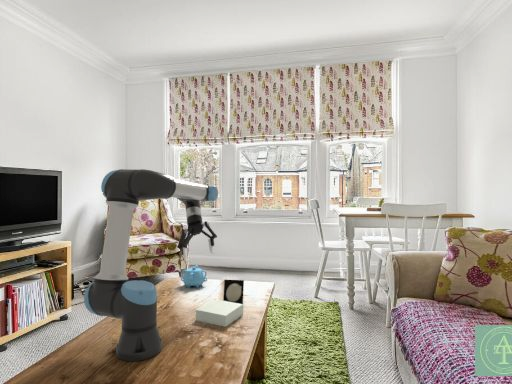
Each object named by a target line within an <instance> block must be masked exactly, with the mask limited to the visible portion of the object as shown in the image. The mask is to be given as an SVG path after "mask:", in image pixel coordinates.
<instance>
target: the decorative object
mask: <svg viewBox="0 0 512 384" xmlns="http://www.w3.org/2000/svg"><path fill="white" fill-rule="evenodd" d="M244 281H245V280H244V279H224V281H223V299H222V301H228V302H233V303H239V304H243V305H244V288H245V287H244V286H245V285H244V283H245V282H244Z"/></svg>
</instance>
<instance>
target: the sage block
mask: <svg viewBox="0 0 512 384" xmlns="http://www.w3.org/2000/svg"><path fill="white" fill-rule="evenodd" d="M243 315H244V303H243V304H239V303H233V302H228V301H223V299H222V300H221V299H217V298H216V299H213V300H211V301H209V302H207V303H206V304H205V303H204V305H202V306H200V307H198V308H196V309H195V321H196V322H197V321H198V322H202V323H206V324H212V325H214V326H215V325H216V326H220V327H227V326H229V325H230V324H232V323H233V322H234V321H236V320H237V319H239V318H240V317H241V316H243Z"/></svg>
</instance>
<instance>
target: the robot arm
mask: <svg viewBox="0 0 512 384" xmlns="http://www.w3.org/2000/svg"><path fill="white" fill-rule="evenodd" d="M100 186H101V187H100V189H101V192H102V195H103V196H104V197H105V203H106V205H108V207H109V208H108V209H109V210H108V217H107V221H106V222H107V223H106V229H105V235H104V243H103V249H102V256H101V261H100V262H101V263H100V270H99V272H98V273H97V274H96V275H95V276H94V277H93V278H94V279H93V281H92V282H91V283H89V285H88V287H86V289H85V291H84V297H83V303H84V306H85V308H86V310H87V311H88V312H89V313H91V314H94V315H97V316H100V317H107V318H113V319H118V320H121V331H120V335H119V338H118V343H117V344H116V347H115V356H116V357H117V359H120V360H121V361H124V362H139V361H145V360H148V359H151V358H153V357H154V356H157V355H158V354H159V353H160V352H161V351H162V348H163V344H162V343H163V341H162V337H161V335H160V332H159V329H158V327H157V325H158V293H157V287H156V285H155V284H154V283H152V282H149V281H147V280H142V279H141V280H135V279H134V280H129V277H128V276H127V274H126V267H127V260H128V252H129V247H130V246H129V245H130V240H131V239H130V238H131V230H132V226H133V225H132V223H133V217H134V210H135V209H137V208H138V207H139V205H140V201H146V200H147V201H149V200H160V199H162V200H168V199H170V198H176V199H178V200H179V201H180V202H181V203H183V204H184V207H185V214H186V222H187V228H186V229H184V228H183V229H182V230H181V234H180V235H181V236H180V238H179V241H178V244H177V249H180V250H181V255H182V256H183V261H184V262H186V263H188V262H189V257H188V249H187V247H188V245H189V244H190V241H191V239H192V238H193V237H194V236H197V235H200V234H201V233H202V234H203V235H204V236H206V237H207V238H209V239H207V240H208V241H207V242H208V247H209V248H208V249H209V253H211V254H214V253H215V252H214V246H215V241H214V240H215V239H216V238H218V236H217V234H216V233H215V231H214V230H213V229H212V228H211V226H210V224H209V222H208V221H204V223H203V217H202V211H201V210H202V209H201V202H215V201H216V200H217V199H218V197H219V191H218V188H217V186H216V185H206V184H201V183H196V182H190V181H186V180H181V179H177V178H174V177H173V176H172V175H170V174H166V173H163V172H159V171H154V170H150V169H143V168H142V169H140V168H139V169H125V168H124V169H114V170H111V171H109V172H107V173H106V175H105V176H104V177H103V179H102V181H101V185H100ZM204 227H205V228H206V229H207V230H208V232H209V233H210V234H211V235H210V234H208V232H206V231H204V230H203V229H204Z"/></svg>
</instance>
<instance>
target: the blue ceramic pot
mask: <svg viewBox="0 0 512 384" xmlns="http://www.w3.org/2000/svg"><path fill="white" fill-rule="evenodd" d="M207 274H208V273H207V271H206V270H205V269H202V268H200V267H199V265H198V264H195V266H192V267H191V268H190V267H189V268H187V269H183V270H182V271H181V276H182V277H181V278H180V280H181V282H183V284H184V285H185V286H186V288H191V287H195V288H200V286H201V285H203V284H204V283H205V282H208V279H207Z"/></svg>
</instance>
